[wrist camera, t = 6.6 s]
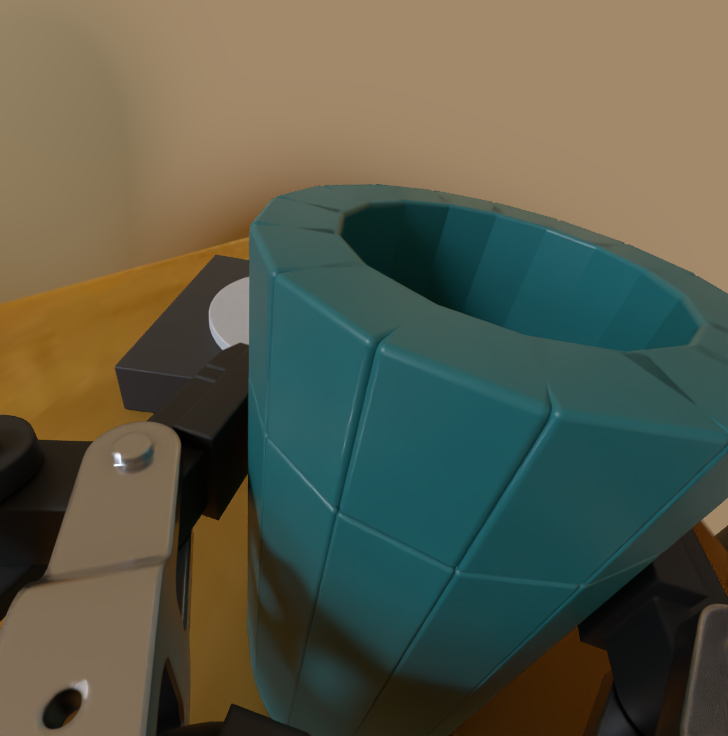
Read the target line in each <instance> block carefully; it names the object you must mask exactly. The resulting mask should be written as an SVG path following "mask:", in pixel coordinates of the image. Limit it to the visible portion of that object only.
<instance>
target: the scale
mask: <svg viewBox="0 0 728 736" xmlns="http://www.w3.org/2000/svg"><path fill="white" fill-rule="evenodd" d="M240 342H241V343H244V344H248V345H249V260H244V259H238V258H232V257H227V256H221V255H215V256H214V257H213V258H212V259H211V260H210V262H209V263H208V264H207V265H206V266H205V267H204V268H203V269H202V270H201V271H200V273H199V274H198V275H197V276H196V277H195V278H194V279H193V280H192V281H191V283H190V284H189V285H188V286H187V287H186V288H185V289H184V290H183V291H182V293H181V294H180V295H179V296H178V297H177V298H176V299H175V300H174V301H173V303H172V304H171V305H170V306H169V307H168V308H167V309H166V310H165V311H164V313H163V314H162V315H161V316H160V317H159V318H158V319H157V320H156V321H155V323H154V324H153V325H152V326H151V327H150V328H149V329H148V330H147V331H146V332H145V334H144V335H143V336H142V337H141V338H140V339H139V340H138V341H137V342H136V344H135V345H134V346H133V347H132V348H131V349H130V350H129V351H128V352H127V354H126V355H125V356H124V357H123V358H122V359H121V360H120V361H119V362H118V364H117V365H116V366H115V371H116V375H117V379H118V383H119V387H120V391H121V395H122V399H123V404H124V408H125V409H130V410H138V411H145V412H153V413H156V412H157V411H158V410H159V409H160V408H161V407H162V406H163V405H164V404H165V403H166V402H167V401H168V400H169V399H171V398H172V397H173V396H174V395H175V394H176V393H177V392H178V391H179V390H180V389H181V388H182V387H183V386H184V385H185V384H186V383H187V382H188V381H189V380H191V379H192V378H195V375H196V374H197V373H198V372H199V371H200V370H201V369H202V368H203V367H206V366H207V363H208V362H209V361H211V360H212V359H213V358H214V357H215V356H216V355H217V354H218V353H219V352H220V351H222V350H224V349H226V348H228V347H231V346H233V345H235V344H238V343H240Z"/></svg>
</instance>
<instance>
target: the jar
mask: <svg viewBox="0 0 728 736" xmlns="http://www.w3.org/2000/svg"><path fill="white" fill-rule="evenodd" d="M727 498H728V294H727V293H726V292H724V291H722V290H721V289H719V288H717V287H715V286H714V285H712V284H710V283H709V282H707V281H705V280H703V279H702V278H700V277H699V276H696V275H695V274H693V273H692V272H689V271H687V270H685V269H683V268H681V267H678V266H676V265H674V264H672V263H669V262H667V261H665V260H663V259H660V258H658V257H656V256H654V255H651V254H649V253H647V252H645V251H643V250H640V249H638V248H636V247H634V246H631V245H627V244H624V242H621V241H618V240H615V239H612V238H610V237H607V236H604V235H601V234H598V233H595V232H592V231H590V230H587V229H584V228H581V227H578V226H575V225H572V224H569V223H566V222H564V221H558V220H557V219H555V218H551V217H547V216H544V215H540V214H536V213H533V212H529V211H525V210H522V209H518V208H514V207H510V206H507V205H503V204H499V203H493V202H491V201H486V200H481V199H476V198H471V197H466V196H460V195H455V194H450V193H445V192H440V191H431V190H427V189H418V188H408V187H398V186H390V185H380V184H376V185H372V184H371V185H370V184H369V185H326V186H315V187H311V188H307V189H303V190H299V191H295V192H292V193H288V194H284V195H280V196H277V197H276V198H273V199H272V200H271V201H270V202H269V203H268V205H267V206H266V207H265V208H264V209H263V210H262V212H261V213H260V214H259V215H258V216H257V218H256V219H255V220H254V221H253V222H252V225H251V226H250V232H249V379H248V635H249V645H250V657H251V665H252V670H253V675H254V679H255V682H256V685H257V688H258V691H259V694H260V697H261V699H262V701H263V703H264V705H265V707H266V709H267V711H268V713H269V715H270V716H271V718H272V719H273V720H276V721H279V722H281V723H284V724H286V725H289V726H291V727H294V728H297V729H299V730H302V731H304V732H307V733H308V734H310V735H311V736H448V735H450V734H451V733H452V732H453V731H454V730H456V729H457V728H458V727H459V726H460V725H461V724H463V723H464V722H465V721H466V720H467V719H468V718H470V717H471V716H472V715H473V714H474V713H475V712H477V711H478V710H479V709H480V708H481V707H482V706H484V705H485V704H486V703H487V702H488V701H490V700H491V699H492V698H493V697H494V696H495V695H497V694H498V693H499V692H500V691H501V690H502V689H504V688H505V687H506V686H507V685H508V684H509V683H511V682H512V681H513V680H514V679H515V678H516V677H518V676H519V675H520V674H521V673H522V672H524V671H525V670H526V669H527V668H528V667H529V666H531V665H532V664H533V663H534V662H535V661H536V660H538V659H539V658H540V657H541V656H542V655H543V654H545V653H546V652H547V651H548V650H549V649H550V648H552V647H553V646H554V645H555V644H556V643H558V642H559V641H560V640H561V639H562V638H563V637H565V636H566V635H567V634H568V633H569V632H570V631H572V630H573V629H574V628H575V627H576V626H577V625H579V624H580V623H581V622H582V621H583V620H584V619H586V618H587V617H588V616H589V615H590V614H592V613H593V612H594V611H595V610H596V609H597V608H599V607H600V606H601V605H602V604H603V603H604V602H606V601H607V600H608V599H609V598H610V597H611V596H613V595H614V594H615V593H616V592H617V591H618V590H620V589H621V588H622V587H623V586H624V585H626V584H627V583H628V582H629V581H630V580H631V579H633V578H634V577H635V576H636V575H637V574H638V573H640V572H641V571H642V570H643V569H644V568H645V567H647V566H648V565H649V564H650V563H651V562H652V561H654V560H655V559H656V558H657V557H658V556H659V555H660V554H661V553H662V552H664V551H666V550H667V549H668V548H669V547H670V546H672V545H673V544H674V543H675V542H676V541H677V540H679V539H680V538H681V537H682V536H683V535H684V534H686V533H687V532H688V531H689V530H690V529H691V528H693V527H694V526H695V525H696V524H697V523H699V522H700V521H701V520H702V519H703V518H704V517H706V516H707V515H708V514H709V513H710V512H711V511H713V510H714V509H715V508H716V507H717V506H718V505H720V504H721V503H722V502H723V501H724V500H725V499H727Z"/></svg>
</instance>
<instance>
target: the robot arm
mask: <svg viewBox="0 0 728 736" xmlns="http://www.w3.org/2000/svg"><path fill="white" fill-rule="evenodd" d="M248 379H249V345H248V344H244V343H241V342H240V343H238V344H235V345H233V346H231V347H228V348H226V349H224V350H222V351H220V352H219V353H218V354H217V355H216V356H215V357H214V358H213V359H212V360H211V361H209V362H208V363H207V366H206V367H203V368H202V369H201V370H200V371H199V372H198V373H197V374H196V375H195V378H192V379H191V380H189V381H188V382H187V383H186V384H185V385H184V386H183V387H182V388H181V389H180V390H179V391H178V392H177V393H176V394H175V395H174V396H173V397H172V398H171V399H169V400H168V401H167V402H166V403H165V404H164V405H163V406H162V407H161V408H160V409H159V410H158V411H157V412H156V413H155V414H154V415H153V416H152V417H151V418H149V419H148V420H147V421H146V422H133V423H128V424H124V425H121V426H118V427H115V428H113V429H111V430H109V431H107V432H105V433H104V434H102V435H101V436H99V437H98V438H97V439H96V440H95V441H58V440H38V439H37V436H36V434H35V432H34V430H33V428H32V426H31V424H29V423H28V422H27V421H26V420H24V419H22V418H19V417H16V416H10V415H0V621H1V620H2V619H3V618H4V617H5V616H6V617H5V620H4V622H3V625H2V628H1V631H0V736H311V735H310V734H308V733H307V732H304V731H302V730H299V729H297V728H294V727H291V726H289V725H286V724H284V723H281V722H279V721H276V720H273V719H271V718H268V717H266V716H263V715H260V714H258V713H255V712H253V711H250V710H247V709H245V708H242V707H240V706H237V705H235V704H231V706H230V709H229V711H228V714H227V716H226V718H225V721H224V722H204V723H198V724H192V725H189V712H190V647H189V632H190V608H191V586H192V563H193V540H194V535H193V527H194V525H195V524H196V522H197V521H198V519H199V518H200V516H201V515H204V516H207V517H210V518H213V519H216V520H219V519H220V517H221V515H222V514H223V512H224V511H225V509H226V508H227V506H228V504H229V503H230V501H231V500H232V498H233V496H234V495H235V493H236V492H237V490H238V488H239V487H240V485H241V484H242V482H243V480H244V479H245V477H246V476H247V474H248ZM578 630H579V635H580V641H581V642H583V643H586V644H589V645H592V646H595V647H598V648H601V649H604V650H607V652H608V657H609V661H610V665H611V670H609V671H608V672H607V673H606V674H605V675H604V677H603V679H602V682H601V685H600V688H599V691H598V694H597V697H596V699H595V702H594V705H593V708H592V711H591V714H590V716H589V719H588V722H587V725H586V728H585V731H584V733H583V736H728V597H727V595H726V593H725V591H724V590H723V588H722V586H721V584H720V582H719V580H718V578H717V576H716V574H715V572H714V570H713V568H712V566H711V564H710V562H709V560H708V558H707V556H706V554H705V552H704V550H703V548H702V546H701V544H700V542H699V540H698V538H697V536H696V534H695V532H694V530H693V529H690V530H689V531H688V532H687V533H686V534H684V535H683V536H682V537H681V538H680V539H679V540H677V541H676V542H675V543H674V544H673V545H672V546H670V547H669V548H668V549H667V550H666V551H664V552H662V553H661V554H660V555H659V556H658V557H657V558H656V559H655V560H654V561H652V562H651V563H650V564H649V565H648V566H647V567H645V568H644V569H643V570H642V571H641V572H640V573H638V574H637V575H636V576H635V577H634V578H633V579H631V580H630V581H629V582H628V583H627V584H626V585H624V586H623V587H622V588H621V589H620V590H618V591H617V592H616V593H615V594H614V595H613V596H611V597H610V598H609V599H608V600H607V601H606V602H604V603H603V604H602V605H601V606H600V607H599V608H597V609H596V610H595V611H594V612H593V613H592V614H590V615H589V616H588V617H587V618H586V619H584V620H583V621H582V622H581V623H580V624H579V625H578Z"/></svg>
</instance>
